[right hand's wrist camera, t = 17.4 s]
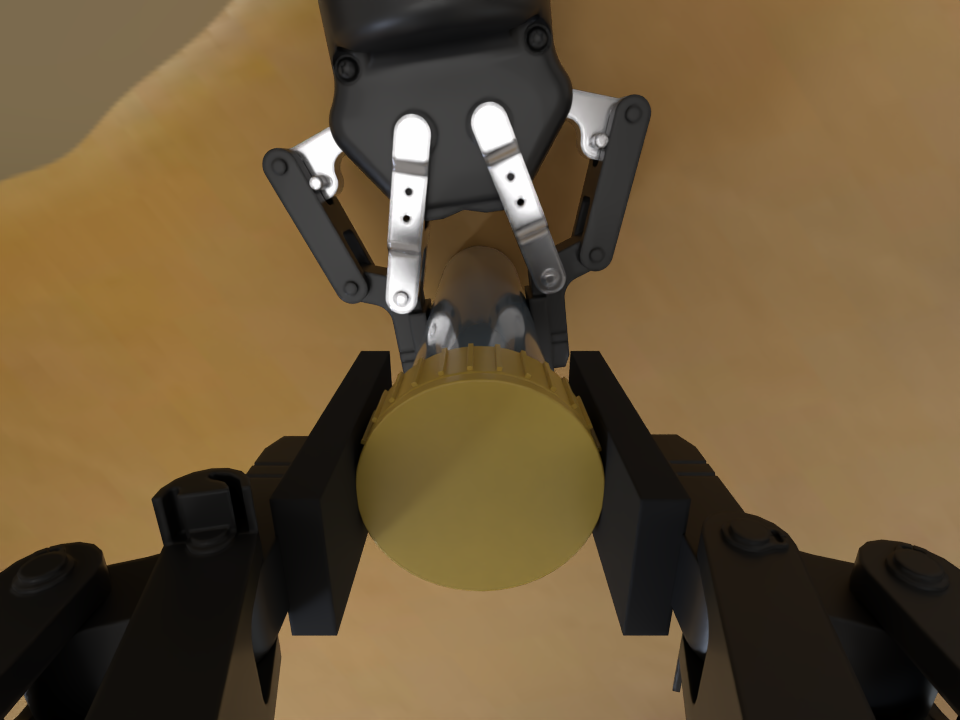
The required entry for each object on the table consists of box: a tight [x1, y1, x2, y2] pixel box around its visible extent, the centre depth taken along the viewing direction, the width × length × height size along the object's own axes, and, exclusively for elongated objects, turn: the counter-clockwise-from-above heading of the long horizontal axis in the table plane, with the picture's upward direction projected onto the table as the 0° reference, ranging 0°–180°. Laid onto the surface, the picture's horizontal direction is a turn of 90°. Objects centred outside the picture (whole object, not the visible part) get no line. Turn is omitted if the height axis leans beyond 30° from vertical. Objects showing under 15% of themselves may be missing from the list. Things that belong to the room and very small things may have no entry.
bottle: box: [412, 246, 546, 367], centre depth 19 cm, size 4×4×18 cm
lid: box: [356, 343, 605, 591], centre depth 11 cm, size 5×5×2 cm
